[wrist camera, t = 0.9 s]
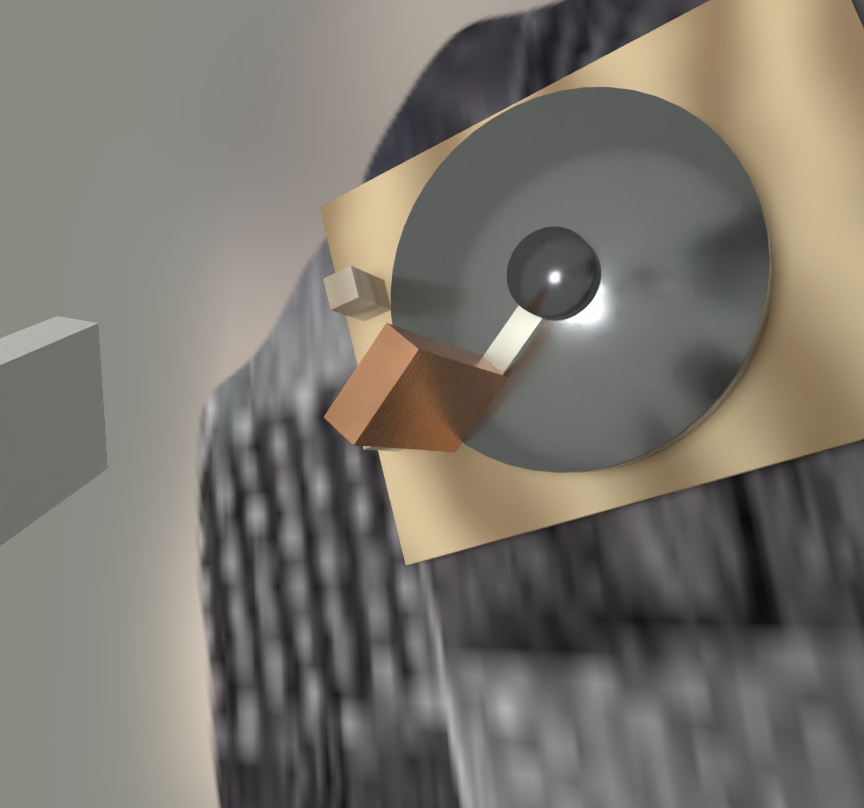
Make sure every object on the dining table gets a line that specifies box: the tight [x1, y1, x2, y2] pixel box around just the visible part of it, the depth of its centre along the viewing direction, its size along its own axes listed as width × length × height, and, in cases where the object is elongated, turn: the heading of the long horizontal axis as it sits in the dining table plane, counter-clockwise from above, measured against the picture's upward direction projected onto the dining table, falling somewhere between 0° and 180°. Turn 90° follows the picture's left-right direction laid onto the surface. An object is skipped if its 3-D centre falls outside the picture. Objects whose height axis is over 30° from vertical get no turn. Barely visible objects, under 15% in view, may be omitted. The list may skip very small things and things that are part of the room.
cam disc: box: [324, 87, 773, 473], centre depth 30 cm, size 16×16×10 cm
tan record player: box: [320, 0, 864, 565], centre depth 33 cm, size 25×19×4 cm
